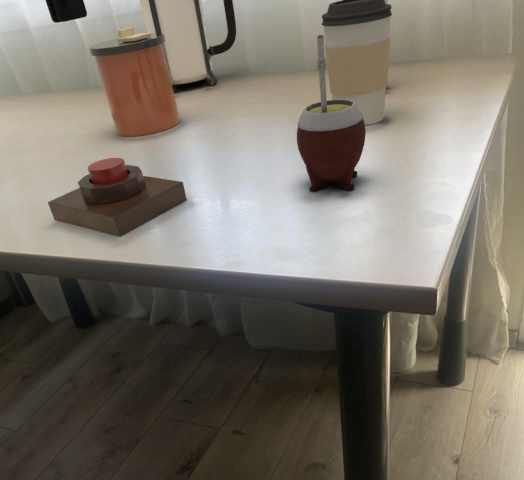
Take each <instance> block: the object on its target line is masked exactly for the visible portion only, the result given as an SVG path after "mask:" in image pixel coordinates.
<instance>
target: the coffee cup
mask: <svg viewBox="0 0 524 480" xmlns="http://www.w3.org/2000/svg"><path fill="white" fill-rule="evenodd" d="M392 16H393V13H392V5H391V4H389V3H387V4H386V3H385V1H384V0H338V1H334V2H331V3H329V5H328V8H327V11H326V12H325V13H323V14H322V15H321V19H322V22H321V26H322V27H323V33H324V43H325V44H324V52H325V59H326V68H327V75H328V83H329V91H330V94H331V98H332V99H331V100H351V101H353V102H354V103H356V105H357V106H358V107H359V109H360V110H361V112H362V114H363V119H364V123H365V127H366V126H370V125H374V124H377V123H379V122H381V121H383V120H384V117H385V103H386V88H387V87H388V76H389V62H390V47H391V36H390V29H391V17H392ZM386 86H387V87H386Z"/></svg>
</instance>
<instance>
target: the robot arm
mask: <svg viewBox="0 0 524 480" xmlns="http://www.w3.org/2000/svg"><path fill="white" fill-rule="evenodd" d="M45 3H46V6H47V10H48V13H49V16H50V18H51V20H52V22H53V23H55V24H57V23H66V22H71V21H74V20H79V19H83V18H87V16H88V12H87V7H86V4H85V1H84V0H45Z"/></svg>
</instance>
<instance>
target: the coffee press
mask: <svg viewBox="0 0 524 480" xmlns="http://www.w3.org/2000/svg"><path fill="white" fill-rule="evenodd" d="M139 2H140V3H139V4H140V6H141V11H142V15H143V19H144V24H145V29H146V33H163V34H164V36H165V40H166V41H165V42H164V43H163V46H164V51H165V55H166V60H167V64H168V69H169V73H170V78H171V82H172V87H173V91H174V93H175V92H176V89H177V87H178V86H180V85H183V84H190V83H194V82H198V81H204V82H206V83H207V84H208V85H209V86H211V87H213V86H215V85H217V84H218V78H217V76H216V75H215V74H214V72H213V70H214V69H213V61H212V57H213V56H217V55H220V54H224V53H226V52H228V51H229V50H230V49H231V48H232V47H233V45H234V44H235V42H236V37H237V24H236V23H237V22H236V16H235V15H236V14H235V7H234V2H233V0H223V2H222V3H223V9H224V14H225V20H226V27H227V34H226V38H225V40H224V41H223V42H222V43H220V44H216V45H212V46H211V45H210V44H209V37H208V33H207V28H206V22H205V17H204V10H203V4H202V0H139ZM208 77H210V78H211V79H210V78H208Z"/></svg>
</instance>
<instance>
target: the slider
mask: <svg viewBox="0 0 524 480" xmlns="http://www.w3.org/2000/svg"><path fill="white" fill-rule="evenodd" d="M117 35H118V38H116V39H117V40H118V42H129V41H137V40H141V39H144V38H148V37H151V36H152V35H151V33H147V32H143V33H136V31H135V27H134V26H130V27H126V28H121V29H118V30H117Z"/></svg>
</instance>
